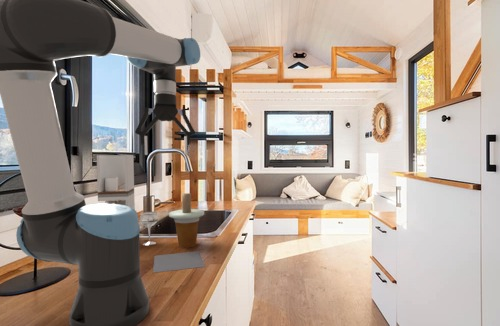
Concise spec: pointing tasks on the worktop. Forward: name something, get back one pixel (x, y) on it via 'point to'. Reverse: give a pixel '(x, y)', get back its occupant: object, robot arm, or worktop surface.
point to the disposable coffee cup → (187, 231)
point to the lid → (186, 209)
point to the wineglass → (148, 222)
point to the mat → (177, 261)
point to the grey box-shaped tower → (116, 179)
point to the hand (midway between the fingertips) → (166, 154)
